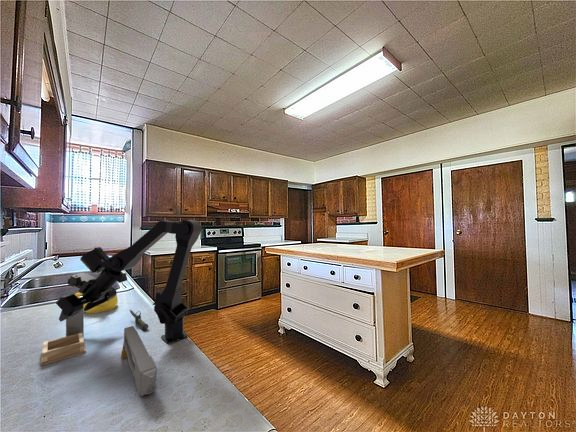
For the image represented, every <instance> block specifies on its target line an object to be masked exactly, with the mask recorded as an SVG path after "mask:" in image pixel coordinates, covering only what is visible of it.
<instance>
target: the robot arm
mask: <svg viewBox="0 0 576 432" xmlns="http://www.w3.org/2000/svg"><path fill="white" fill-rule="evenodd" d="M202 230H203V229H202V224H201V223H200V222H199V221H197V219H195V220H194V219H183V220H181V221H172V220H168V219H166V220H163V219H162V220H158V221H157V222H156V223H155V225H154V226H152V227H151V228H150V229H149V230H148V231H147V232H146V233H144V234H143V235H142V236H141V237H139V239H137V240H136V241H135V242H133V244H131V245H130V246H128V247H126V248H125V249H122V250H120V251H117V253H114V254H113V255H112V256H111V257H109V256H108V254H107V253H106V252H105V251H104V250H103V248H101V247H99V246H98V247H94V248H93V249H92V250H89V251H88V252H86V253H85V254H82V256H80V261H81V263H82V264H83V265H84V266H85V267H86V268H87V269H88V270H89V271H90V272H91V273H93V274H94V273H99V274H98V275H97V276H96V277H95V276H92V275H91V274H89V273H87V272H80V273H76V274H73V275H71V276H70V277H69V278H67V285H69V286H70V287H72V288H78V293H82V295H81V296H80V298H78V297H77V296H76V295H75V294H76V293H69V294H65V295H63V296H60V297H59V298H58V299H57V300H56V302H55V304H56V306H58V307H59V309H61V312H60V315H59V317H58V320H59V322H61V323H62V322H64V321H66V319H68V318H70V317H72V316H74V315H76V314H78V313H79V312H80V311H81V310H82V309H83V308H84V304H87V305H86V306H85V308H84V309H83V312H85V311H87V310H89V309H92V308H94V307H96V306H98V305H100V304H102V303H104V302H106V301H109V300H110V299H112V298H114V297H115V296H116V295H117V290H116V289H115V288H114V285H115V284H116V283H119V284H121V283H124V282H127V281H128V276H127V272H125V273H124V271H126V270H130V269H132V268H135V266H137V264H138V263H139V261H141V259H142V256H143V255H144V254H145V253H146V252H147V251H148V250H149V249H150V248H152V247H153V246H155V244H157V243H158V241H160V240H161V239H163V237H164V236H166V235H167V234H172V235H175V242H176V246H175V251H174V254H173V258H172V262H171V266H170V269H169V273H168V277H167V280H166V283H165V287H164V288H163V289H161V290H159V291H157V292H156V294H155V300H154V301H153V304H152V306H154V307H153V310H154V312H155V314H156V316H157V319H158V320H159V323H160V325H163V324H164V334H162V335H161V336H160V337H161V339H162V340H163V341H164V342H165V343H166V344H171V343H175V342H177V341H180V340H183V339H187V338H188V334H187V333H185V330H184V329H185V327H184V326H185V324H184V323H185V322H184V316H186V315H187V314H188V310H189V307H188V306H187V305H186V304H185V303H184V302H182V298H183V293H182V290H181V287H182V284H183V281H184V276H185V273H186V270H187V265H188V263H189V259H190V255H191V252H192V249H193V247H194V245H195V243H196V242H197V241H198V239H199V237H200V235H201V233H202ZM117 296H118V295H117Z"/></svg>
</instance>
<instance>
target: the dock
mask: <svg viewBox="0 0 576 432" xmlns="http://www.w3.org/2000/svg"><path fill="white" fill-rule="evenodd" d="M86 353H87V349H86V346H85V339H84V337H83V334H82V333H78V334H74V335H70V336H66V335H65V336H63V337H59V338H54V339H51V340H47V341H44V342H42V350H41V356H40V357H41V359H40V366H45V365H49V364H51V363H54V362H58V361H62V360H65V359H68V358H72V357H75V356H79V355H82V354H86Z"/></svg>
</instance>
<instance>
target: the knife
mask: <svg viewBox="0 0 576 432" xmlns="http://www.w3.org/2000/svg"><path fill="white" fill-rule="evenodd" d="M129 312H130V314H131V315H132V316H133V317H134V323H135V325H136V326H138V325H140V327H141V329H142V330H143V331H146V330H148V328H149V327H150V326H149V324H147V323H146V322H145V321H144V320H142V313H141V311H139V310H138V311H136V313H135V312H134V310H132V309H129ZM138 313H139V314H138ZM137 314H138V315H137Z"/></svg>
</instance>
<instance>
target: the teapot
mask: <svg viewBox="0 0 576 432" xmlns="http://www.w3.org/2000/svg"><path fill="white" fill-rule="evenodd" d="M74 294H75V295H76V296H77V297H78V298H81V296H82V293H80V292H77V293H74ZM118 302H119V300H118V295H116V296H115V297H114V298H112V299H110V300H109V301H106V302H104V303H102V304H100V305H98V306H96V307H94V308H92V309H89V310H87V311H84V312H85V313H87V314H89V315H90V314H96V313H101V312H102V313H103V312H107V311H111V310H114V309H115V308H116V307H117V304H118ZM86 305H87V304H84V308H85V306H86ZM84 308H83V310H84Z"/></svg>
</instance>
